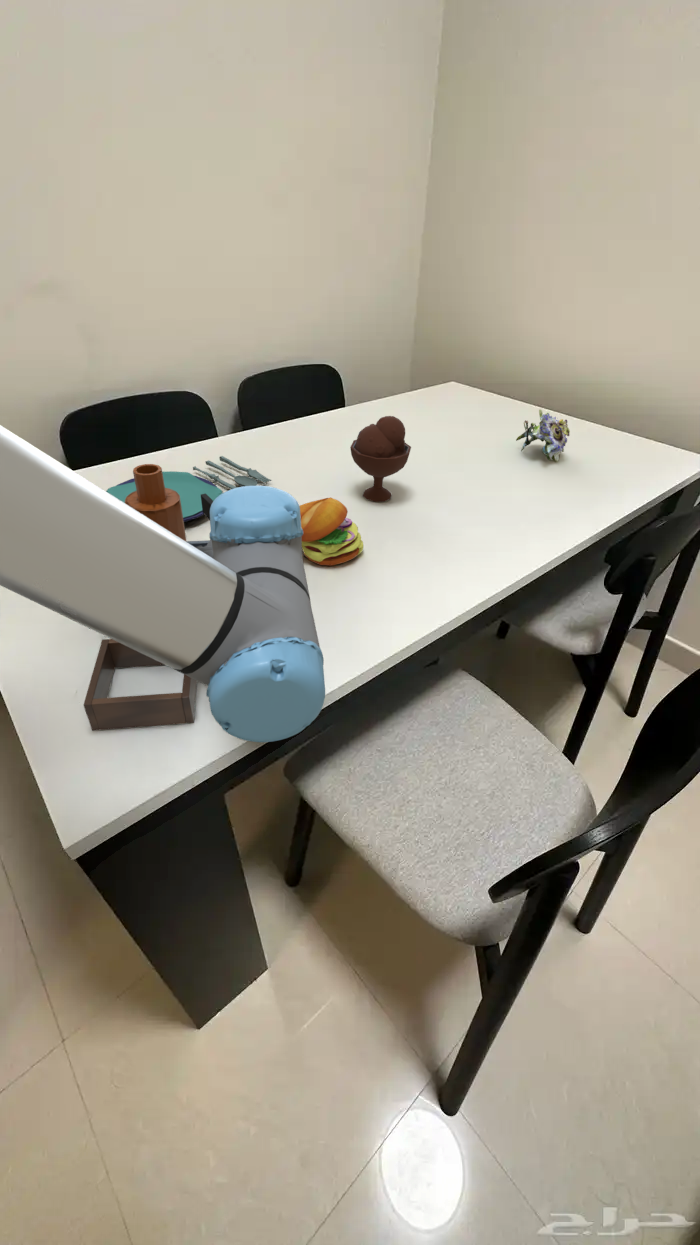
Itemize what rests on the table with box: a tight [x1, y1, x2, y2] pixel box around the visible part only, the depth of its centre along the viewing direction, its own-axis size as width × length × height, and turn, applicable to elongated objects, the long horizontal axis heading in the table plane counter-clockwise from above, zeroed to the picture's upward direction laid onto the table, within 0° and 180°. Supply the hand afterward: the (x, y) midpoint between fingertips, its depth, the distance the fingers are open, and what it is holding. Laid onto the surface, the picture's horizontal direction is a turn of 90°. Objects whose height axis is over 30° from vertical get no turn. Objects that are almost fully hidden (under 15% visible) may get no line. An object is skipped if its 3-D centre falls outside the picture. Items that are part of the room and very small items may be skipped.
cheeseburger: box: [299, 497, 364, 566], centre depth 90 cm, size 10×11×10 cm
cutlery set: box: [105, 455, 273, 523], centre depth 105 cm, size 20×30×2 cm, turn 139°
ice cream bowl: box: [349, 415, 412, 503], centre depth 105 cm, size 11×11×15 cm
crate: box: [83, 638, 198, 731], centre depth 66 cm, size 11×11×4 cm
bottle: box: [125, 463, 188, 542], centre depth 78 cm, size 7×7×17 cm
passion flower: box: [515, 409, 571, 463], centre depth 128 cm, size 11×11×12 cm
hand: (155, 514), depth 76 cm, fingers open, 13 cm apart
